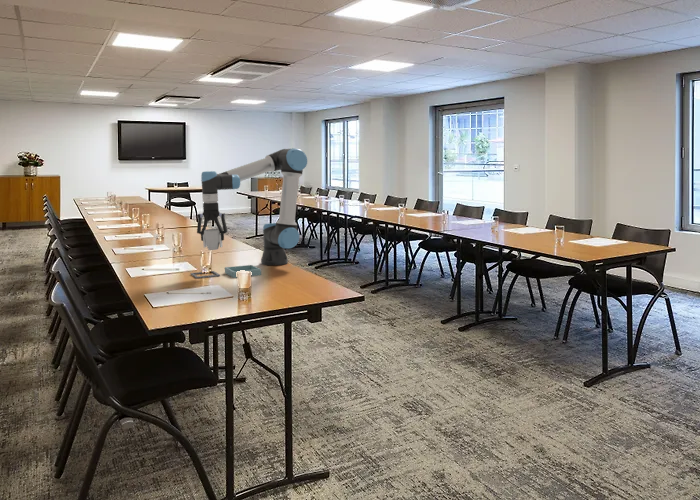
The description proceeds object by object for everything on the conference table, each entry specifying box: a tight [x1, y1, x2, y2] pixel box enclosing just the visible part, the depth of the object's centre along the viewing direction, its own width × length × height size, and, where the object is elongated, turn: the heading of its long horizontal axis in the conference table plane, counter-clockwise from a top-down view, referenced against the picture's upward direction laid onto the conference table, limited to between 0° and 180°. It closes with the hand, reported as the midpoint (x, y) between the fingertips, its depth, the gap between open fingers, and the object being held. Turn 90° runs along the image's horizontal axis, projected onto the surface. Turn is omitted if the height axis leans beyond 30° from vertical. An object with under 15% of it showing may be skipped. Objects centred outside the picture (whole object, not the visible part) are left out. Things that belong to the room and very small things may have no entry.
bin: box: [224, 264, 262, 279], centre depth 302 cm, size 15×15×3 cm
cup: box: [204, 228, 220, 251], centre depth 297 cm, size 8×8×10 cm
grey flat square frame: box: [190, 270, 221, 279], centre depth 299 cm, size 12×12×1 cm
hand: (213, 246), depth 298 cm, fingers closed on cup, 8 cm apart
